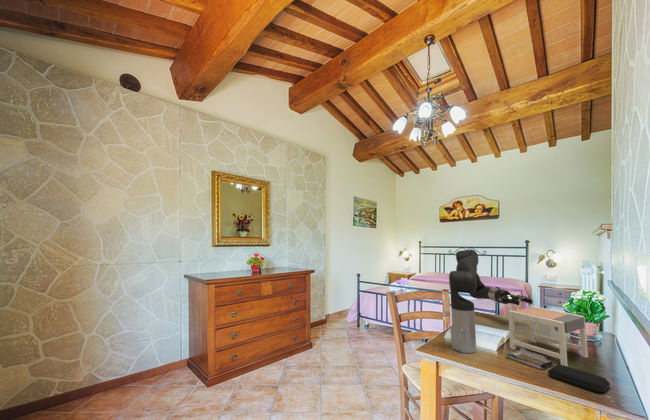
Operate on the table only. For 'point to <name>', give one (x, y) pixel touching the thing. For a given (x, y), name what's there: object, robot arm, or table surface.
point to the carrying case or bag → (579, 378)
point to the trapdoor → (557, 318)
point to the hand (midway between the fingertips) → (525, 302)
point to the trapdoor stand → (534, 336)
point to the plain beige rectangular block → (548, 331)
